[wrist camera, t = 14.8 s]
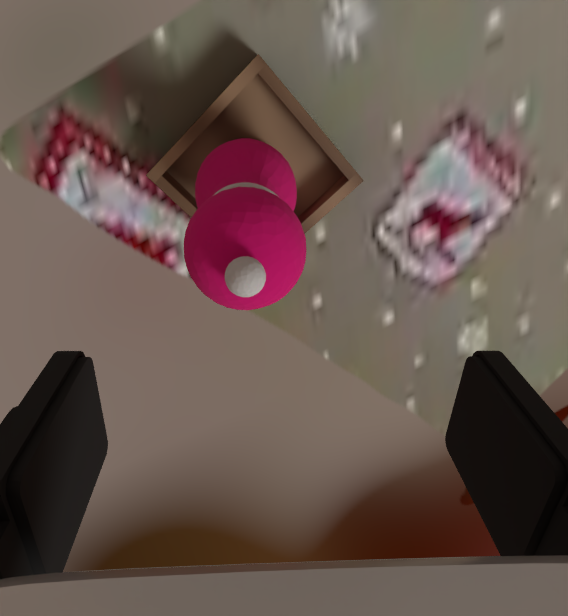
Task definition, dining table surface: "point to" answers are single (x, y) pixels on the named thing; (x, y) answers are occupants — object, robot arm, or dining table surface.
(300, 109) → the walnut tray
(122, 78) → the dining table surface
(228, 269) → the magenta pepper mill
